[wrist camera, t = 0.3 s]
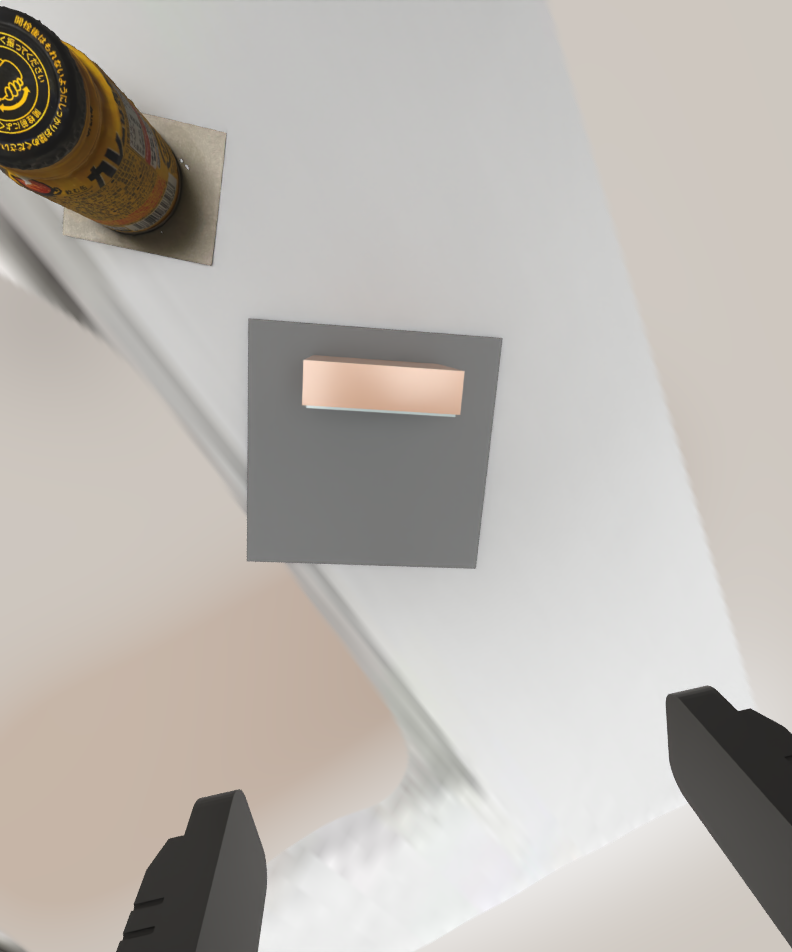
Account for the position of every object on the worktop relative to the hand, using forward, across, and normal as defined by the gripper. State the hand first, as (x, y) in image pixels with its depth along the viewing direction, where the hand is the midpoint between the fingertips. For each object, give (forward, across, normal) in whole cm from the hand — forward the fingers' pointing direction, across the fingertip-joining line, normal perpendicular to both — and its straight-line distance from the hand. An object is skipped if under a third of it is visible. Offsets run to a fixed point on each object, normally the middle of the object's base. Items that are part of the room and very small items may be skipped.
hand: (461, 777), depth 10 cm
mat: (+27, +1, 0) cm, 27 cm away
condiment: (+28, +10, -18) cm, 35 cm away
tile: (+27, -1, -5) cm, 28 cm away
